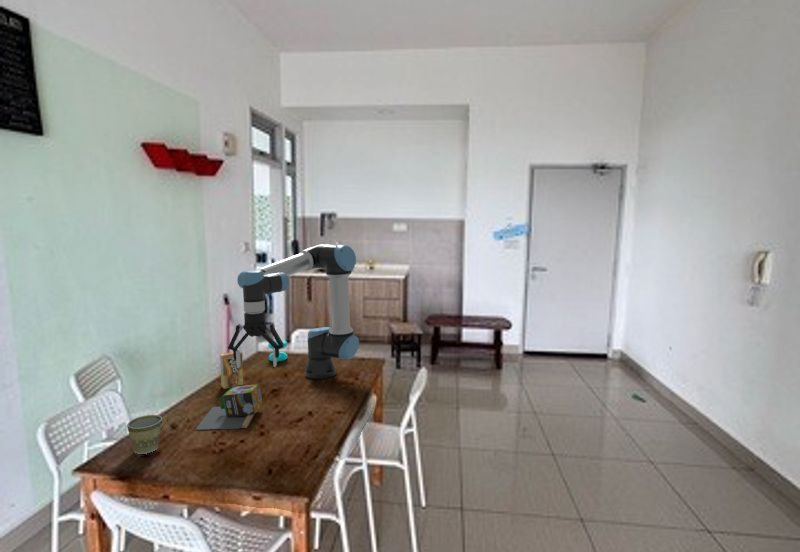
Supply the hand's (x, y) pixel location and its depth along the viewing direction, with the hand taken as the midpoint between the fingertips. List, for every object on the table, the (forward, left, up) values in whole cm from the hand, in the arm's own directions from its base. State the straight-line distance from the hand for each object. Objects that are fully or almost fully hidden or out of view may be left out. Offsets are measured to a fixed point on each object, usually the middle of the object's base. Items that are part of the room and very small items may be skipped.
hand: (257, 366), depth 172 cm
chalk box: (0, -2, -14) cm, 14 cm away
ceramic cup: (+30, +22, -20) cm, 43 cm away
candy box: (+19, -35, -20) cm, 45 cm away
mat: (+11, 0, -20) cm, 23 cm away
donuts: (+5, -74, -20) cm, 77 cm away
